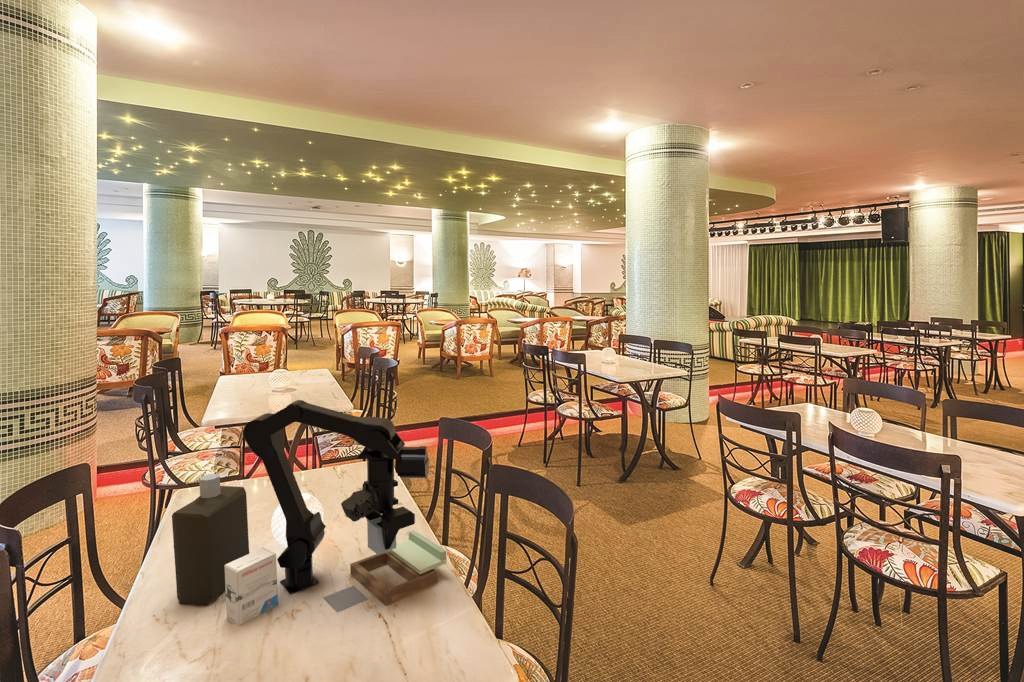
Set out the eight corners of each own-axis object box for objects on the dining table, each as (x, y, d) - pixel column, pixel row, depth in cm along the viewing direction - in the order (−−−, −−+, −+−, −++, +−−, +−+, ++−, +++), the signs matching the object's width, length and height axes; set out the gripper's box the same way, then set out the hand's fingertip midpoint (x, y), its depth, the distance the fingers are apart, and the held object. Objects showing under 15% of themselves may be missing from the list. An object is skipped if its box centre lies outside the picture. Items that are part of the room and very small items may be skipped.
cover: (388, 551, 129) (387, 539, 129) (413, 541, 134) (413, 529, 134) (419, 574, 119) (419, 561, 119) (446, 563, 124) (446, 550, 124)
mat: (322, 599, 115) (322, 597, 115) (353, 586, 120) (353, 585, 120) (337, 614, 110) (337, 612, 110) (368, 600, 115) (368, 599, 115)
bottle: (253, 567, 128) (248, 465, 125) (208, 608, 112) (201, 492, 109) (221, 565, 129) (215, 463, 126) (173, 605, 113) (165, 490, 110)
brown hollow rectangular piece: (350, 576, 124) (350, 563, 124) (400, 557, 133) (399, 545, 133) (385, 607, 113) (385, 593, 112) (437, 584, 121) (437, 571, 121)
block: (367, 547, 120) (367, 521, 120) (385, 540, 123) (385, 515, 123) (377, 554, 117) (377, 528, 116) (396, 547, 120) (395, 522, 119)
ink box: (265, 598, 116) (262, 546, 114) (279, 606, 113) (277, 552, 112) (225, 619, 108) (222, 563, 107) (239, 628, 106) (236, 571, 104)
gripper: (327, 474, 120) (329, 541, 121) (367, 499, 106) (368, 575, 108) (372, 463, 127) (374, 526, 129) (416, 485, 114) (416, 556, 115)
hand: (381, 544), depth 120 cm, fingers closed on block, 4 cm apart
